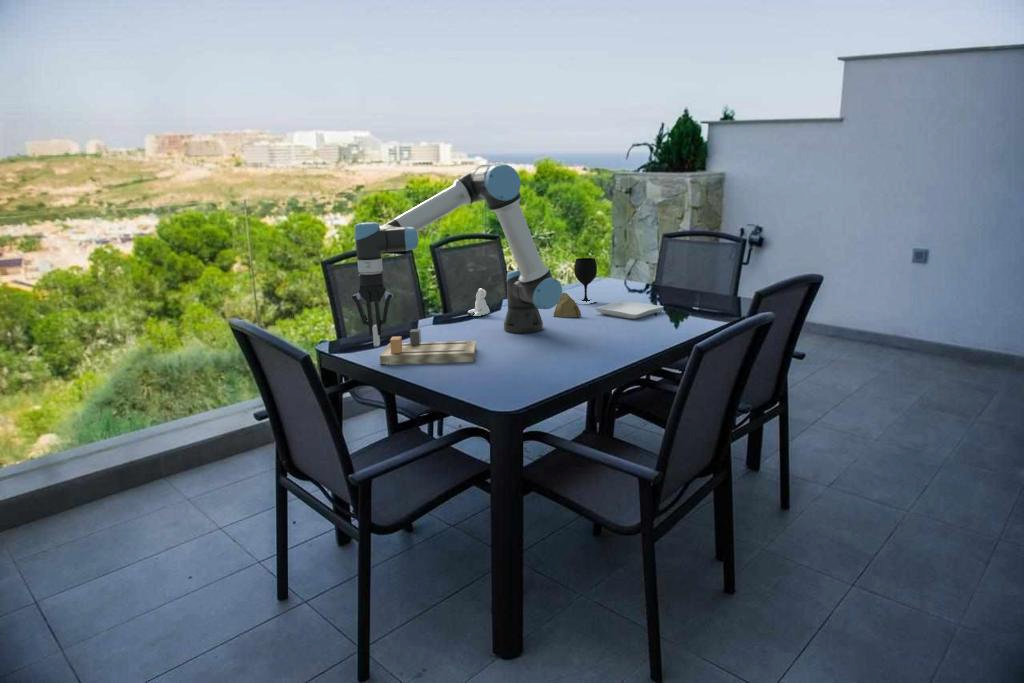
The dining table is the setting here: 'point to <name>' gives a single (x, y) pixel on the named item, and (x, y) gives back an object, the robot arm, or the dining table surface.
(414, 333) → the graphite fader
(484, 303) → the white creature statuette
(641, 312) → the salad plate
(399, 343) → the orange fader
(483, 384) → the dining table surface
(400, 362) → the fader console
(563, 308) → the rock
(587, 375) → the dining table surface
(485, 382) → the dining table surface
